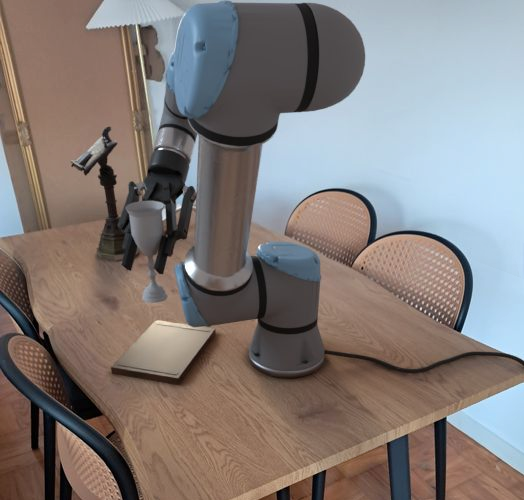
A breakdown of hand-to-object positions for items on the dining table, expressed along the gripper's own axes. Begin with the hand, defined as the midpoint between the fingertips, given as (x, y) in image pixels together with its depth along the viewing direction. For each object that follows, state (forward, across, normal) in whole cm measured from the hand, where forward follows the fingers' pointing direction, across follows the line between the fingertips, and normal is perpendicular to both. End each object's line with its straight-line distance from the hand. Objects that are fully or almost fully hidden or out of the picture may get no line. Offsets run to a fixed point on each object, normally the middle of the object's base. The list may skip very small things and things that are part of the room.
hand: (142, 269), depth 102 cm
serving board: (+12, -2, -15) cm, 19 cm away
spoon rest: (-39, +30, -66) cm, 82 cm away
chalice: (+3, 0, -8) cm, 8 cm away
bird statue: (-20, +36, -47) cm, 63 cm away
